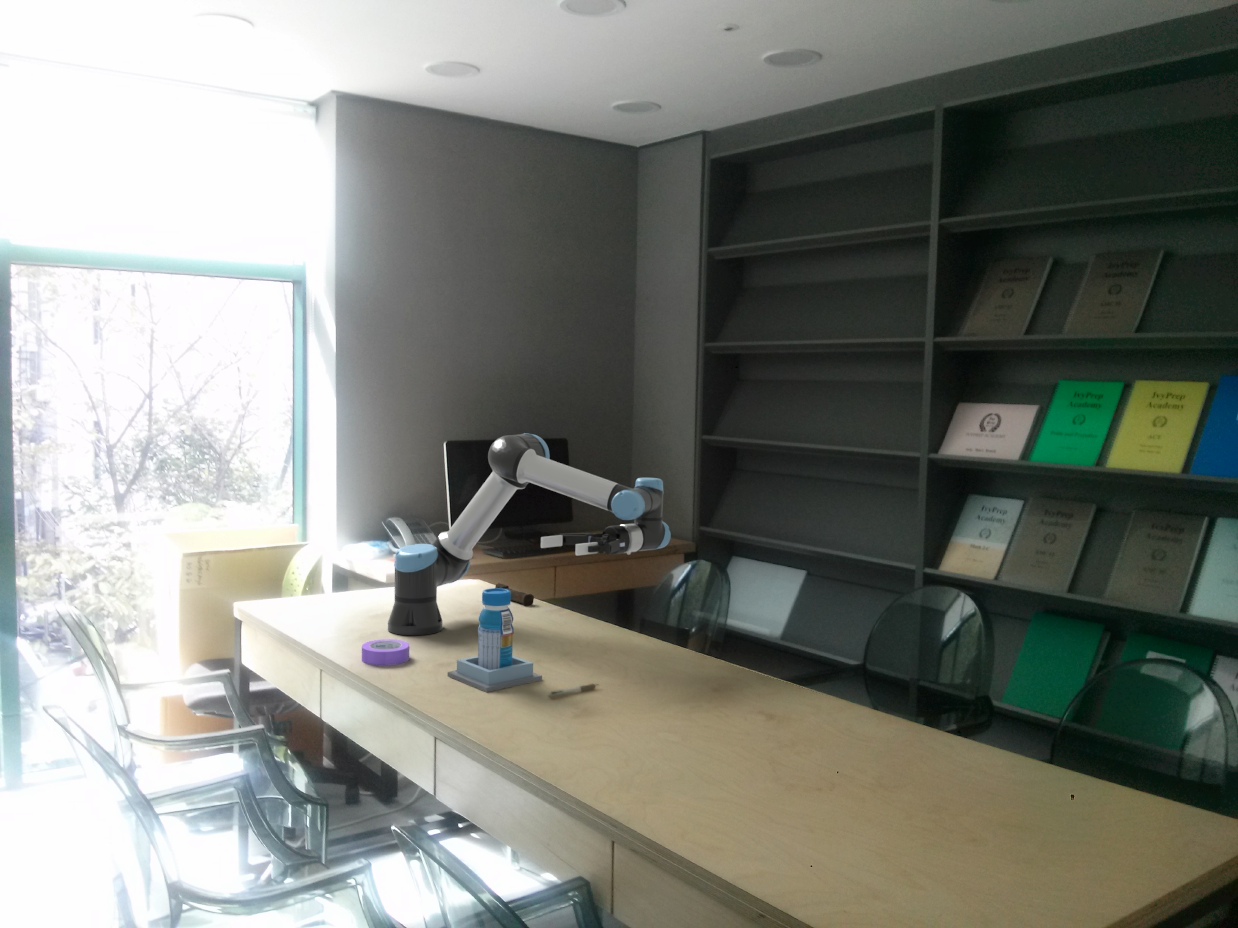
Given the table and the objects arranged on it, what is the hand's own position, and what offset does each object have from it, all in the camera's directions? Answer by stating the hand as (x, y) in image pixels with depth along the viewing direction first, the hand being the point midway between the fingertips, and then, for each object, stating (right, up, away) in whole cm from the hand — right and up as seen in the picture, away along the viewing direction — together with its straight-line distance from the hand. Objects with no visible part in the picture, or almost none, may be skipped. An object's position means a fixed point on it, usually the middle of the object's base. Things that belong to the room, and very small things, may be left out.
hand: (558, 546), depth 252 cm
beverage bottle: (-15, -30, -10) cm, 35 cm away
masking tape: (-44, -29, +4) cm, 53 cm away
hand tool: (-20, -24, +76) cm, 82 cm away
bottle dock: (-15, -30, -10) cm, 35 cm away
